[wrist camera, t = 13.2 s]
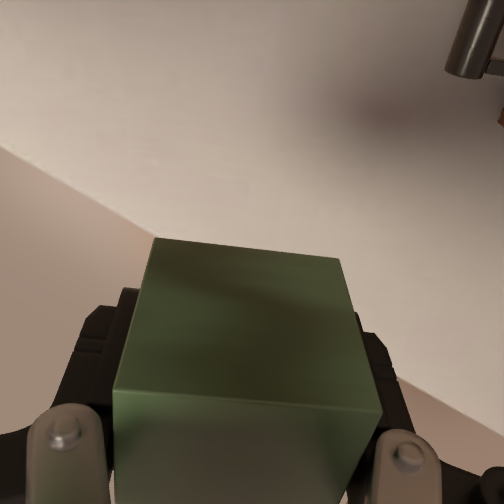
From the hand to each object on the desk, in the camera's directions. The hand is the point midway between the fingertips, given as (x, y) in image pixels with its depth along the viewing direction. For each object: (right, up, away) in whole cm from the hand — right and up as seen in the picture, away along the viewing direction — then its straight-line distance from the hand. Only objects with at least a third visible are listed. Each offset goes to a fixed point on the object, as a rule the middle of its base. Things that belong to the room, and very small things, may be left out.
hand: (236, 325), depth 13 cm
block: (0, 0, 0) cm, 0 cm away
